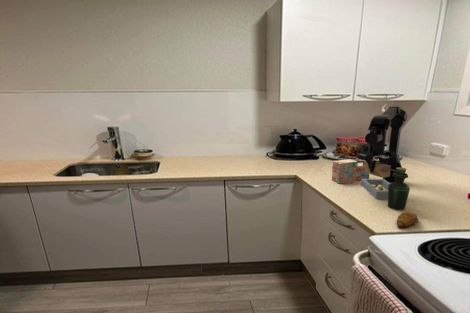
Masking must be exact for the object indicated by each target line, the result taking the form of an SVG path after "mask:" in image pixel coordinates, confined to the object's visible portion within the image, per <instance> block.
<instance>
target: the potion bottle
mask: <svg viewBox="0 0 470 313" xmlns="http://www.w3.org/2000/svg"><path fill="white" fill-rule="evenodd" d="M406 171H407V168H405V167H402V168H401V167H397V168H396V172H394V173H393V176H394V177H395V180H396V182H392V183H390V184H389V185H388V199H387V206H388V207H389V208H390V209H392V210H396V211H403V210H405V209H406V207H407V206H406V205H407V202H408V197H409V195H410V190H411V189H410V186H409V185H408V184H407V183H405V179H408V178H409V175H408V174H407V172H406Z"/></svg>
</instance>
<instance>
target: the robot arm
mask: <svg viewBox="0 0 470 313" xmlns="http://www.w3.org/2000/svg"><path fill="white" fill-rule="evenodd" d="M407 121H408V114H407V111H405V110H404V109H402V108H401V106H392V105H391V106H389V107H387V109H386V110H385V111H384V112H383V113H382V114H377V115H375V116H373V117H372V118H371V121H370V124H369V125H368V128H367V131H369V132H368V133H367V134H366V135H365V137H364V141H365V143H367V144H368V145H367V146H366V144H362V145H360V148H359V151H360V152H362V153H359V154H358V157H357V159H358V160H362V161H366V162H367V164H368V166H369V170H370V172H371V173H372V172H373V170H374V167H375V164H376V162H377V160H375V159H376V158H378V162H379V163H383V164H387V165H391V170H390V176H389V177H384V178H382V179H384V180H386V181H387V182H389V183H392V182H396V180H395V177H394V176H393V173H394V172H396V168H397V167H401V168H403V167H402V163H401V158H400V156H399V147H400V138H401V133H402V129H403V127H404V126H405V125H406V122H407ZM389 128H391V129H390V136H389V143H386V141H387V139H386V138H387V132H388V130H389ZM385 147H388V150H387V149H386V150H385Z"/></svg>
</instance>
